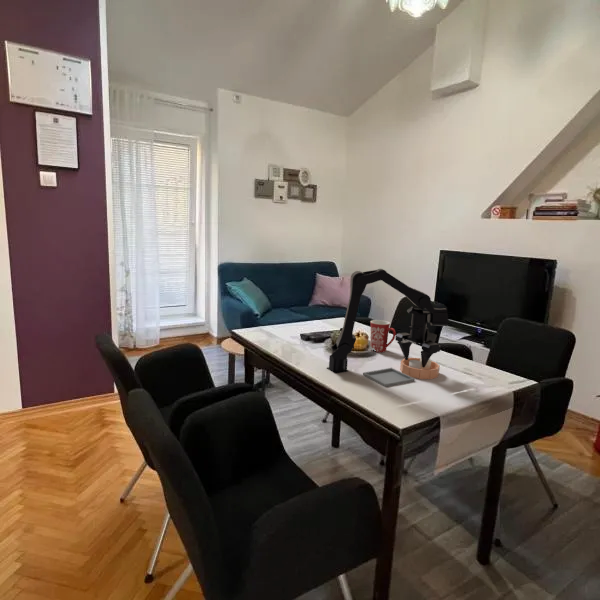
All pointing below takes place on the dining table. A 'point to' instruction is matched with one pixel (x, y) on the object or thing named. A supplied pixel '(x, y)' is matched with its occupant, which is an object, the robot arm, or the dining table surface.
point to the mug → (380, 335)
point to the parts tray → (388, 377)
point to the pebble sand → (428, 365)
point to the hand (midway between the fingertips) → (414, 363)
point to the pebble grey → (415, 364)
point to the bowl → (419, 370)
